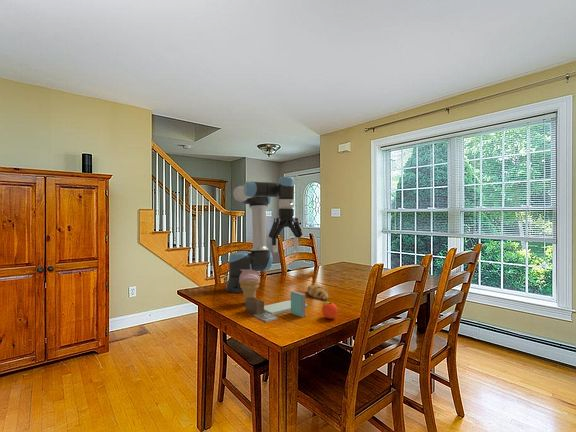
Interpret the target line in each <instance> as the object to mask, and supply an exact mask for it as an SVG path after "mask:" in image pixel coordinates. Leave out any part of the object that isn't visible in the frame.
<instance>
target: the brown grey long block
mask: <svg viewBox="0 0 576 432" xmlns="http://www.w3.org/2000/svg"><path fill="white" fill-rule="evenodd" d="M244 304H245V307H244V311H245V312H247V313H249V314H251V315H253V317H254V318H257V319H259V320H261V321H263V322H266V323H268V322H272V321H276V320H278V319H279V318H278V317H277V316H275V315H271V314H269V313H266V312H264V306H265V301H263V300H262V299H259V298H256V297H255V298H254V297H250V298H245V302H244Z"/></svg>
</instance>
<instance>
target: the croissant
mask: <svg viewBox="0 0 576 432" xmlns="http://www.w3.org/2000/svg"><path fill="white" fill-rule="evenodd" d="M307 293H308V295H309V296H310V297H312V298H315V299H319V300H320V299H321V300H328V299H329V294H328V291H327V289H325V287H324V286H323V285H321V284H318V283H315V284H313V285H312V286H308V287H307Z"/></svg>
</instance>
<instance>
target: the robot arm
mask: <svg viewBox="0 0 576 432" xmlns="http://www.w3.org/2000/svg"><path fill="white" fill-rule="evenodd" d="M231 193H232V198H233V200H234V201H236V202H237V203H239V204H241V205H243V204H244V205H249V206H248V207H249V209H251V222H252V223H251V224H252V225H251V227H252V228H251V229H252V248H251V249H250V252H249V251H248V250H239V251H234V252H232V253H230V254H229V255H228V278H227V281H226V286H225V291H226V292H228V293H234V294H235V293H236V294H238V293H243V290H242V288H241V287H240V286H241V284H240V283H239V277H240V274H241V273H242V271H241V270H250V264H251V269H252V270H254V271H257V272H267V271H269V270H270V269H271V268H272V265H273V260H274V259H273V253H279V251H278V250H279V247H278V246H279V245H278V244H279V239H278V238H277V237H278V236H279V235H280V233H281V232H282V230H283V229H284V228H289V229H290V230H291V232H292V234H293V236H294V237H293V250H294V251H299V244H300V238H301V237H302V236H303V232H302V229H301V227H300V224H299V218H298V217H294V216H295V209H294V207H295V179H294V177H292V176H280V177H279V178H278V182H268V181H267V182H265V181H253V180H252V181H250V180H249V181H245V182H244V185H238V186H236V187H235V188H233V190H232V191H231ZM272 198H278V216H279V217H274V219H273V223H272V226H271V229H270V230H269V234H268V237H269V238H270V239H271V245H272V252H273V253H272V252H271V251H270V249H269V248H268V247H267V226H266V225H267V224H266V223H267V221H266V216H267V215H266V210H267V208H268V205H270V203H271V199H272Z"/></svg>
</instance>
